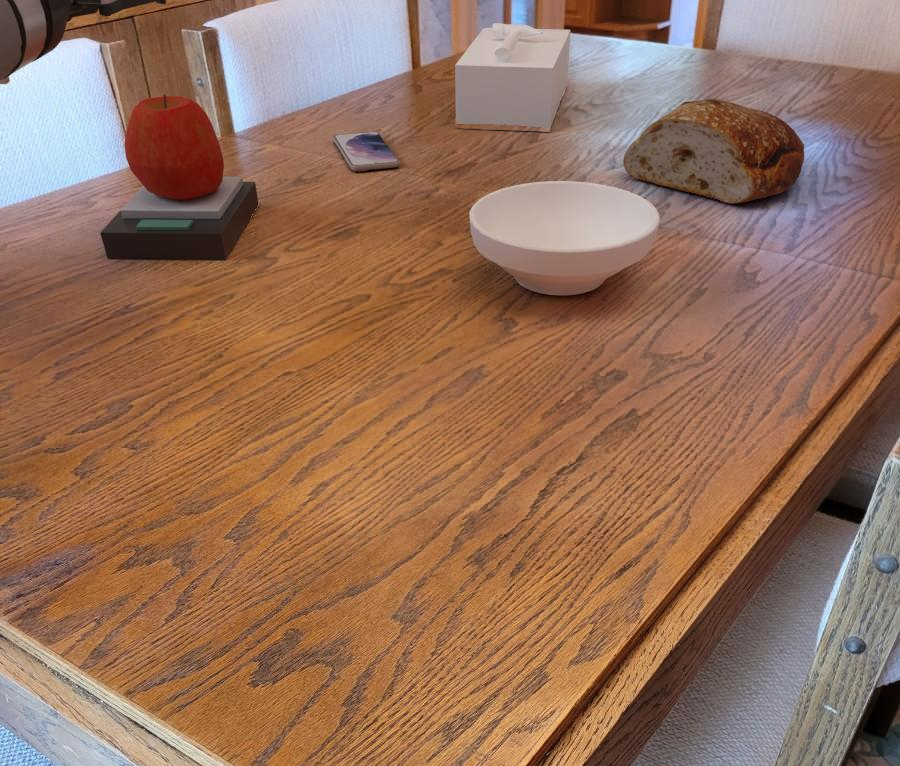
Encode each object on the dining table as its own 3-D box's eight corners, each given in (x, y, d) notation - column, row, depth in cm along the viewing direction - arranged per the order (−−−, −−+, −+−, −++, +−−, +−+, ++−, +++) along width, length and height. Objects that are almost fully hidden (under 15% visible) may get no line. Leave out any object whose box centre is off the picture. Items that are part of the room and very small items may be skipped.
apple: (122, 207, 105) (96, 106, 98) (159, 175, 113) (137, 80, 106) (210, 210, 104) (190, 108, 96) (241, 178, 111) (225, 82, 104)
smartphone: (378, 130, 135) (401, 161, 125) (378, 136, 136) (401, 168, 125) (331, 134, 134) (351, 166, 123) (332, 140, 134) (351, 172, 124)
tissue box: (566, 88, 154) (571, 13, 146) (549, 132, 136) (553, 49, 128) (483, 85, 156) (484, 11, 149) (455, 128, 138) (454, 47, 131)
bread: (616, 178, 121) (624, 95, 114) (700, 147, 129) (712, 68, 123) (745, 218, 109) (763, 129, 103) (827, 182, 118) (849, 97, 111)
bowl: (432, 277, 99) (430, 211, 94) (559, 231, 108) (563, 168, 103) (559, 340, 88) (564, 268, 83) (688, 282, 97) (700, 215, 92)
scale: (107, 258, 104) (97, 223, 101) (152, 205, 116) (145, 172, 114) (225, 259, 103) (219, 224, 101) (259, 206, 116) (253, 173, 113)
